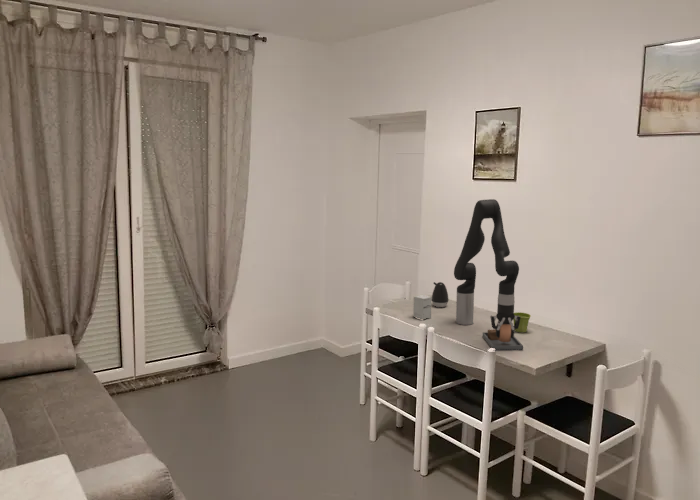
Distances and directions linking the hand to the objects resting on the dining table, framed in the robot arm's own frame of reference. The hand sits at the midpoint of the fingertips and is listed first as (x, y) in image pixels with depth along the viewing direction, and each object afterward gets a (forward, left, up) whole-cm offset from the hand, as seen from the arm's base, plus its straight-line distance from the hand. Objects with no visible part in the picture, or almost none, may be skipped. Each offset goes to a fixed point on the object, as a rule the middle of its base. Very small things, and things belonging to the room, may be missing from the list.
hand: (504, 337), depth 251 cm
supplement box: (-47, -33, -5) cm, 58 cm away
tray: (-4, 0, -4) cm, 6 cm away
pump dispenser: (-72, -19, -5) cm, 75 cm away
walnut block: (-9, -3, -4) cm, 10 cm away
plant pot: (-23, +15, -5) cm, 28 cm away
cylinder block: (0, 0, -2) cm, 2 cm away
